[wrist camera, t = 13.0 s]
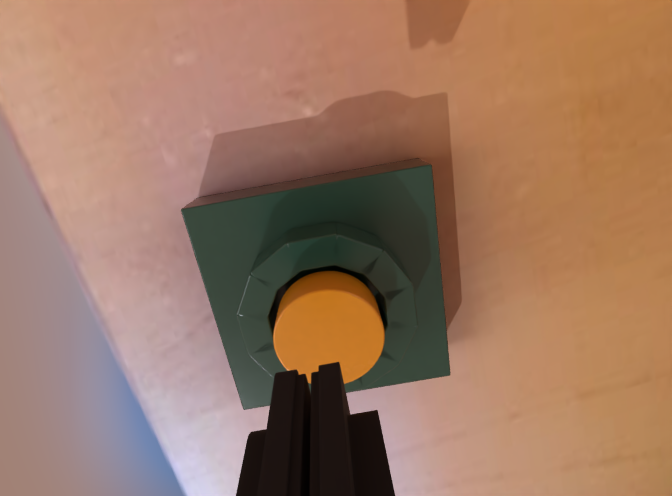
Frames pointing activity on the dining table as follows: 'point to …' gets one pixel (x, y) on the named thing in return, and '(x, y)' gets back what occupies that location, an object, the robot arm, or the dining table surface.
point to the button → (329, 325)
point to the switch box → (325, 266)
